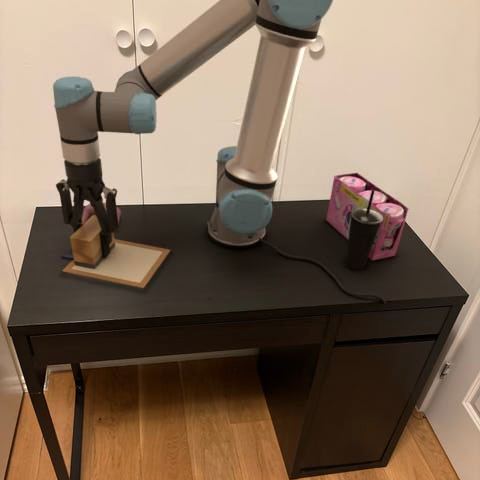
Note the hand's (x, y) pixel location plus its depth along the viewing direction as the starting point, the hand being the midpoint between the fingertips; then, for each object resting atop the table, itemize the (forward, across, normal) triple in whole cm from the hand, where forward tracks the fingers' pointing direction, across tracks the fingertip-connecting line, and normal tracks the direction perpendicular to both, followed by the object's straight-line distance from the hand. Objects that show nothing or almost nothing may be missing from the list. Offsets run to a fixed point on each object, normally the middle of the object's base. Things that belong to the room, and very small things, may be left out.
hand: (95, 252), depth 122 cm
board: (+2, -6, 0) cm, 6 cm away
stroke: (+1, +5, +3) cm, 6 cm away
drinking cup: (+2, -61, -19) cm, 64 cm away
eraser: (+1, 0, 0) cm, 1 cm away
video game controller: (+2, +6, -16) cm, 17 cm away
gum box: (+2, -61, -34) cm, 70 cm away
